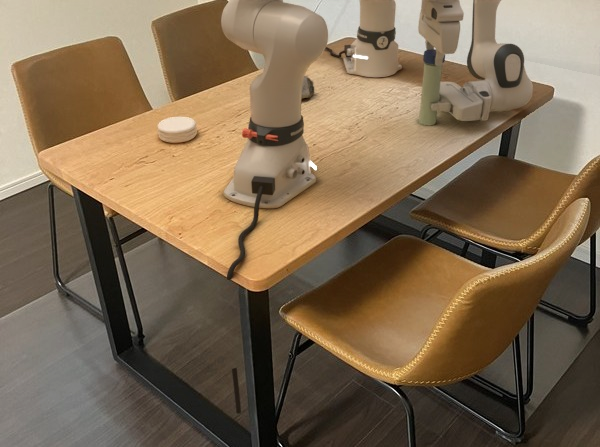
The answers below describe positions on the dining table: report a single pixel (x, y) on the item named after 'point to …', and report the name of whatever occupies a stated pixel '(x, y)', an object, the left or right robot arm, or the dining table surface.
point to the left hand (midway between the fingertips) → (433, 61)
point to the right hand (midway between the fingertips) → (426, 102)
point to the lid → (430, 56)
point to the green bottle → (430, 93)
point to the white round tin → (177, 129)
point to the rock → (307, 88)
